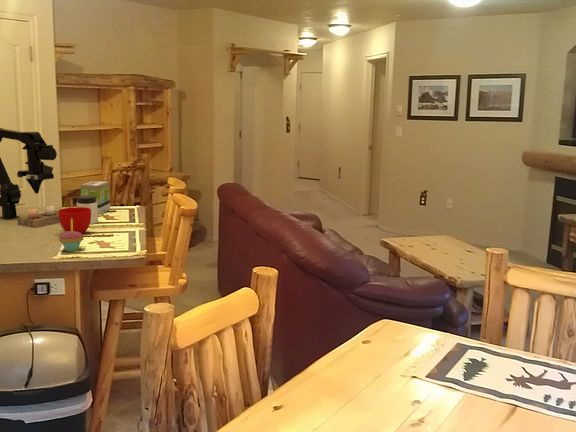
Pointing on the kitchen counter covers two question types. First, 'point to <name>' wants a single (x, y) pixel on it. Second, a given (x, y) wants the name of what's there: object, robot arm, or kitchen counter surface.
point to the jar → (89, 206)
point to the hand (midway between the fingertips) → (36, 193)
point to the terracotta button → (33, 213)
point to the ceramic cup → (75, 218)
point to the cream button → (49, 210)
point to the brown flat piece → (39, 220)
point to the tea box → (98, 194)
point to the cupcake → (71, 239)
